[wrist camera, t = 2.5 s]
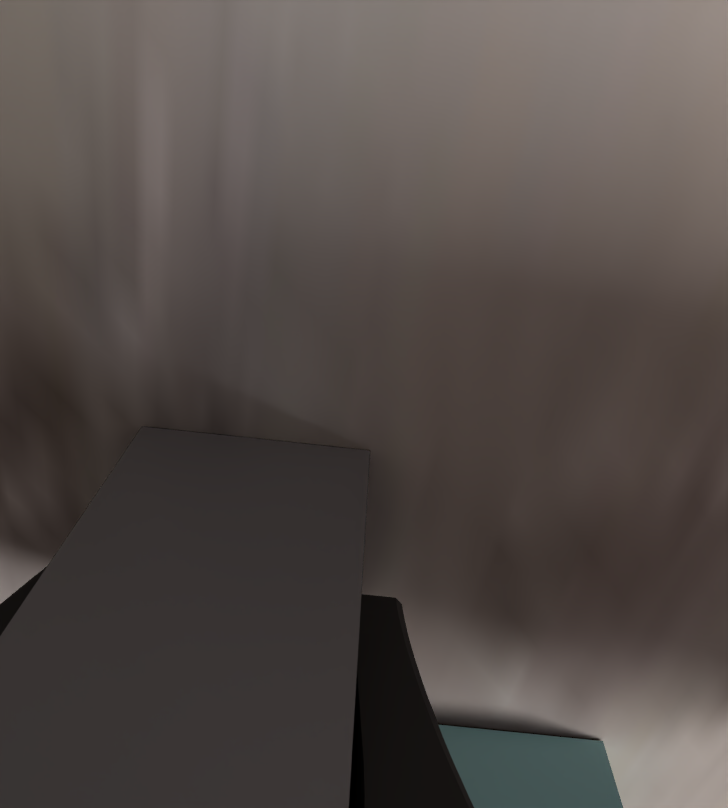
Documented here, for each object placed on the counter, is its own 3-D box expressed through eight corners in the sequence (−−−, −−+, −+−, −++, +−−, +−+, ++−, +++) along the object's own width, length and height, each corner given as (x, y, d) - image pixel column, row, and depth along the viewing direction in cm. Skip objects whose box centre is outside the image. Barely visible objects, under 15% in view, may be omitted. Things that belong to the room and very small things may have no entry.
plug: (370, 450, 12) (343, 909, 5) (349, 616, 13) (312, 1097, 7) (141, 426, 11) (-152, 861, 5) (153, 596, 13) (-53, 1063, 7)
